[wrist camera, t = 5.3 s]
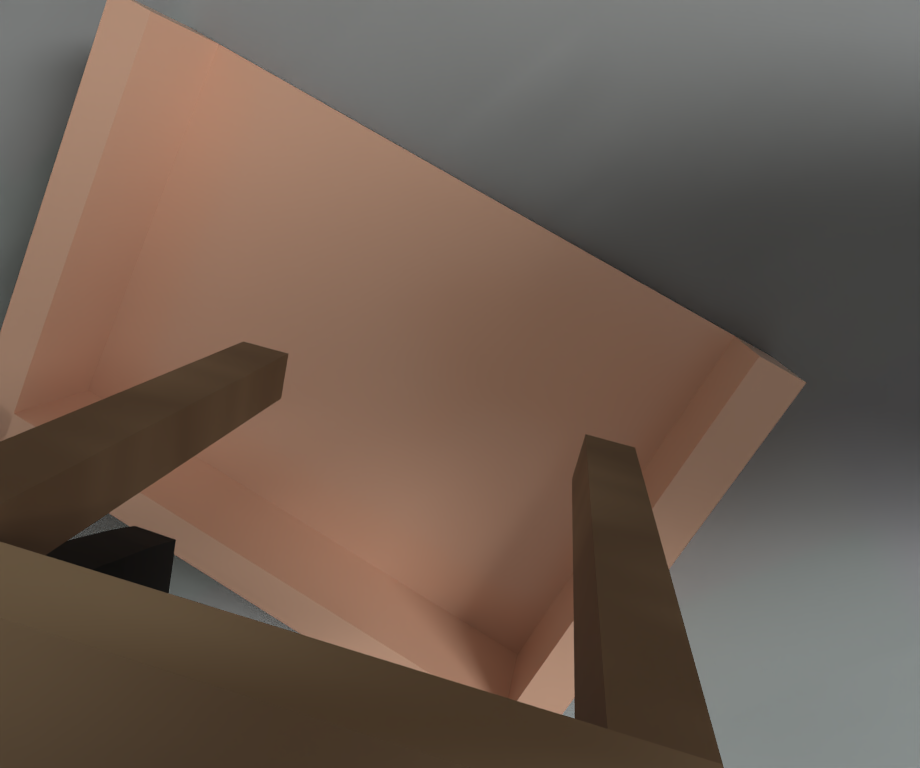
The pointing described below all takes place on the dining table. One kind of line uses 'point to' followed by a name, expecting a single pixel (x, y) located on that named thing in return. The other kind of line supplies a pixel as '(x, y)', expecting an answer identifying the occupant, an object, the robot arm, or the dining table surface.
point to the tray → (362, 362)
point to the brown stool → (294, 655)
